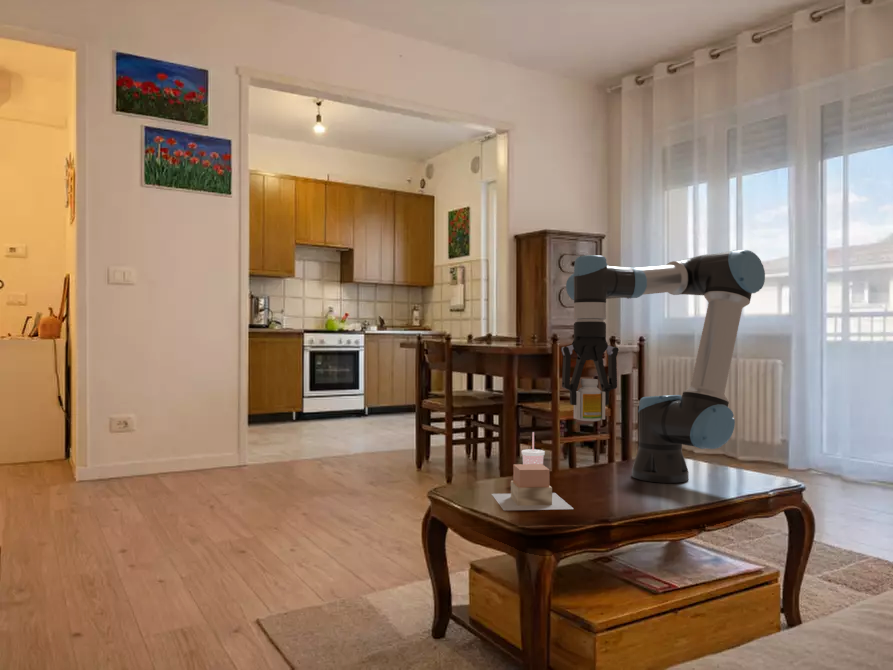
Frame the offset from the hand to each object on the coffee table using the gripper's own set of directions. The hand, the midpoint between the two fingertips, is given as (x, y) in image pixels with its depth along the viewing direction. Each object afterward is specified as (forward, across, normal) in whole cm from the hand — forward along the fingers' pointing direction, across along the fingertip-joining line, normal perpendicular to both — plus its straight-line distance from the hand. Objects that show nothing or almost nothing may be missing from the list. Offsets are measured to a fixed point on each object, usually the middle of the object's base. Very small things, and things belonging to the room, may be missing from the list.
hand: (589, 418), depth 159 cm
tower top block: (+15, +14, 0) cm, 21 cm away
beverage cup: (+20, +9, -19) cm, 29 cm away
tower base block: (+19, +14, 0) cm, 24 cm away
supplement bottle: (+1, 0, 0) cm, 1 cm away
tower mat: (+20, +14, 0) cm, 24 cm away
